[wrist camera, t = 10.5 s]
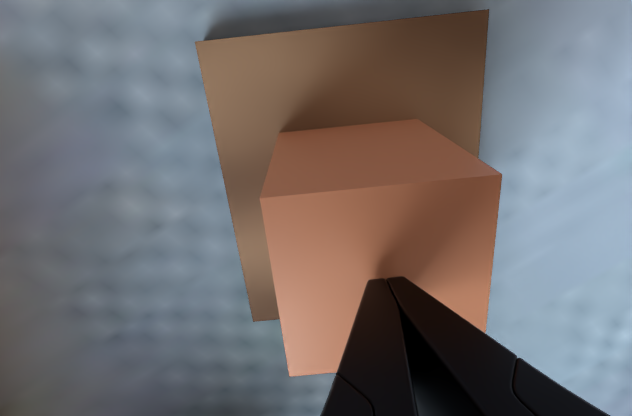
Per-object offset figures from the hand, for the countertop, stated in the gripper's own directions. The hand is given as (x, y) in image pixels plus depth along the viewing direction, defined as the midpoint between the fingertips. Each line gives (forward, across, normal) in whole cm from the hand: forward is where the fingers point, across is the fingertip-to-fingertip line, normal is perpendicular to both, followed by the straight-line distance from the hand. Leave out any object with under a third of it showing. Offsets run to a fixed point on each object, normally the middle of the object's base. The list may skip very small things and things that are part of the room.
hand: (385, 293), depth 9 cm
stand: (+8, 0, 0) cm, 8 cm away
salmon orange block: (+7, 0, 0) cm, 7 cm away
